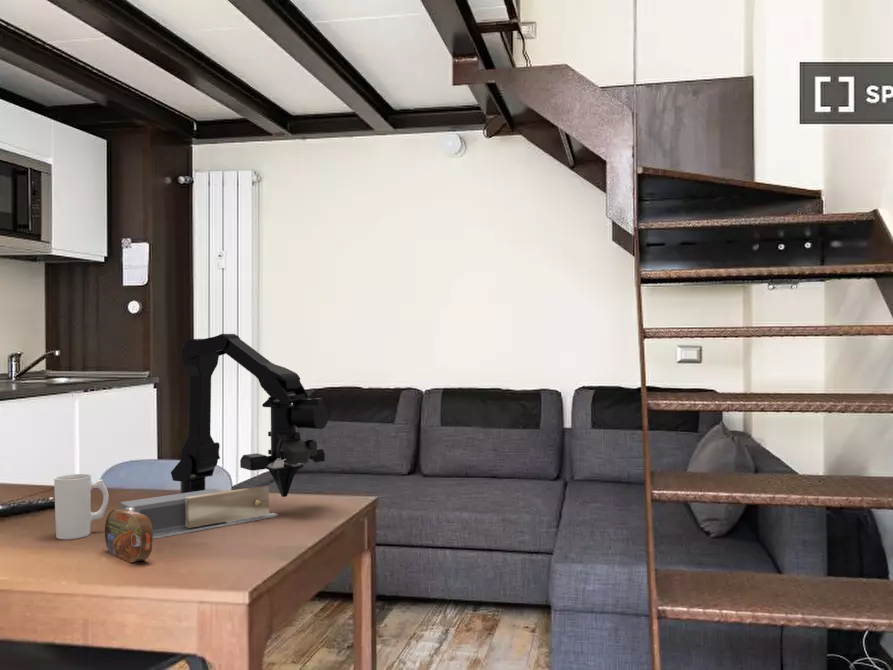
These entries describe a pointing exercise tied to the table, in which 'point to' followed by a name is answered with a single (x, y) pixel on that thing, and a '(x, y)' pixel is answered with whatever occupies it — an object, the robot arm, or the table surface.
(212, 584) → the table surface
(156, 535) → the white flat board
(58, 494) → the mug
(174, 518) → the cabinet
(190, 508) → the door
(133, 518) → the tin
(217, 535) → the table surface
